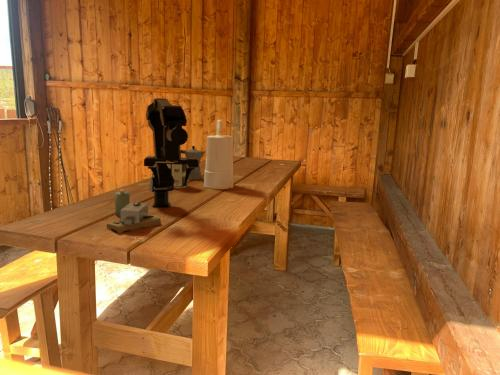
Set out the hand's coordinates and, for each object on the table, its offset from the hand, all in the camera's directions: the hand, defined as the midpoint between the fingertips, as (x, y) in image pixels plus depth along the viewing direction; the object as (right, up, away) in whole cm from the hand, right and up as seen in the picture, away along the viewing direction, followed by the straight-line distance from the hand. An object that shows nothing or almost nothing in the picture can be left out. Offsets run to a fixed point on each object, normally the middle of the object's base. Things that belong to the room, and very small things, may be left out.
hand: (172, 185), depth 138 cm
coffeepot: (-5, +4, +78) cm, 79 cm away
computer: (-11, -14, -8) cm, 20 cm away
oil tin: (-19, -11, +4) cm, 22 cm away
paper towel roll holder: (+12, 0, +60) cm, 62 cm away
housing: (-11, -11, -9) cm, 18 cm away
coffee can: (-9, 0, +55) cm, 56 cm away
